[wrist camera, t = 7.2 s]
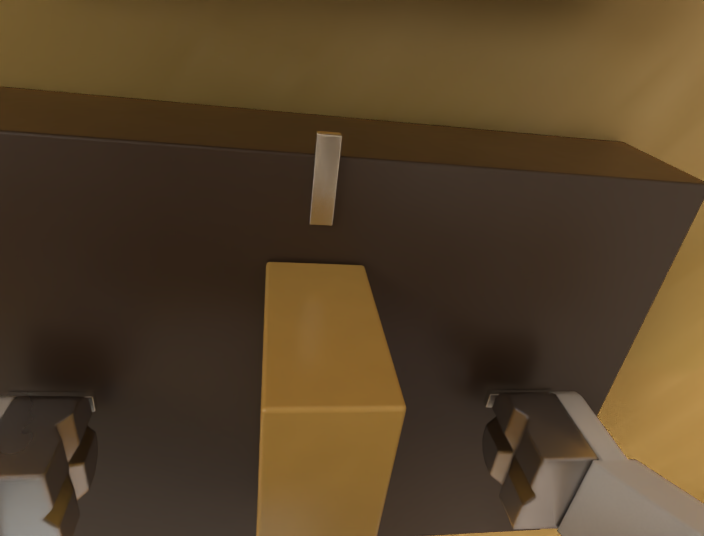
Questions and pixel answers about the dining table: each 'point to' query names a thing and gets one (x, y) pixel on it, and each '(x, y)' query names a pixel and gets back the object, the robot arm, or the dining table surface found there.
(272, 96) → the dining table surface
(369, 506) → the upright wooden block
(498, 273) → the clock face plate
